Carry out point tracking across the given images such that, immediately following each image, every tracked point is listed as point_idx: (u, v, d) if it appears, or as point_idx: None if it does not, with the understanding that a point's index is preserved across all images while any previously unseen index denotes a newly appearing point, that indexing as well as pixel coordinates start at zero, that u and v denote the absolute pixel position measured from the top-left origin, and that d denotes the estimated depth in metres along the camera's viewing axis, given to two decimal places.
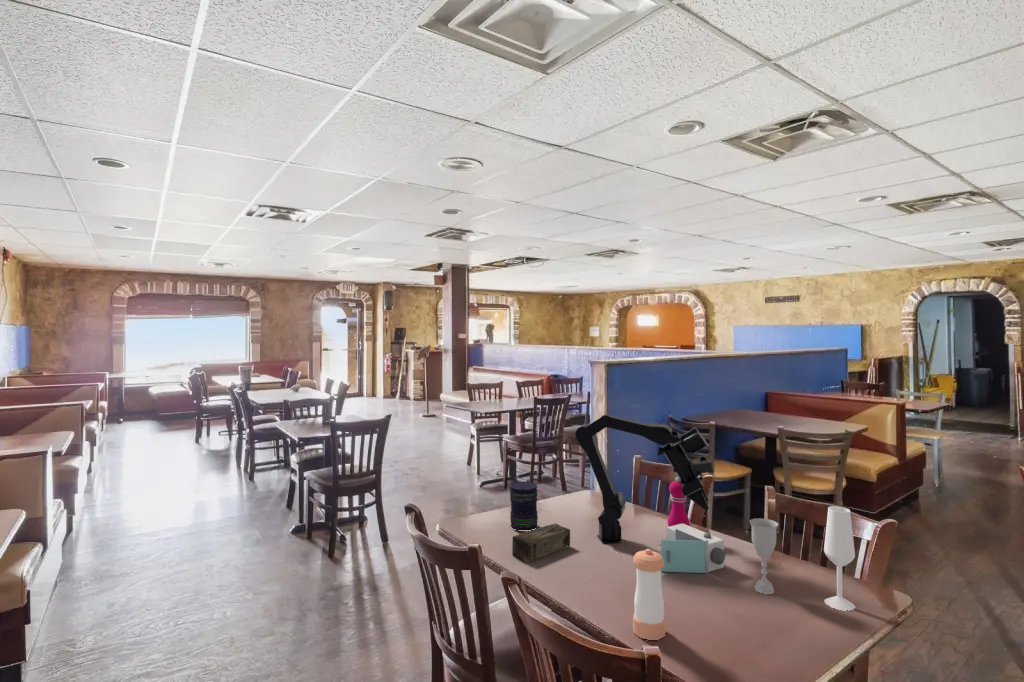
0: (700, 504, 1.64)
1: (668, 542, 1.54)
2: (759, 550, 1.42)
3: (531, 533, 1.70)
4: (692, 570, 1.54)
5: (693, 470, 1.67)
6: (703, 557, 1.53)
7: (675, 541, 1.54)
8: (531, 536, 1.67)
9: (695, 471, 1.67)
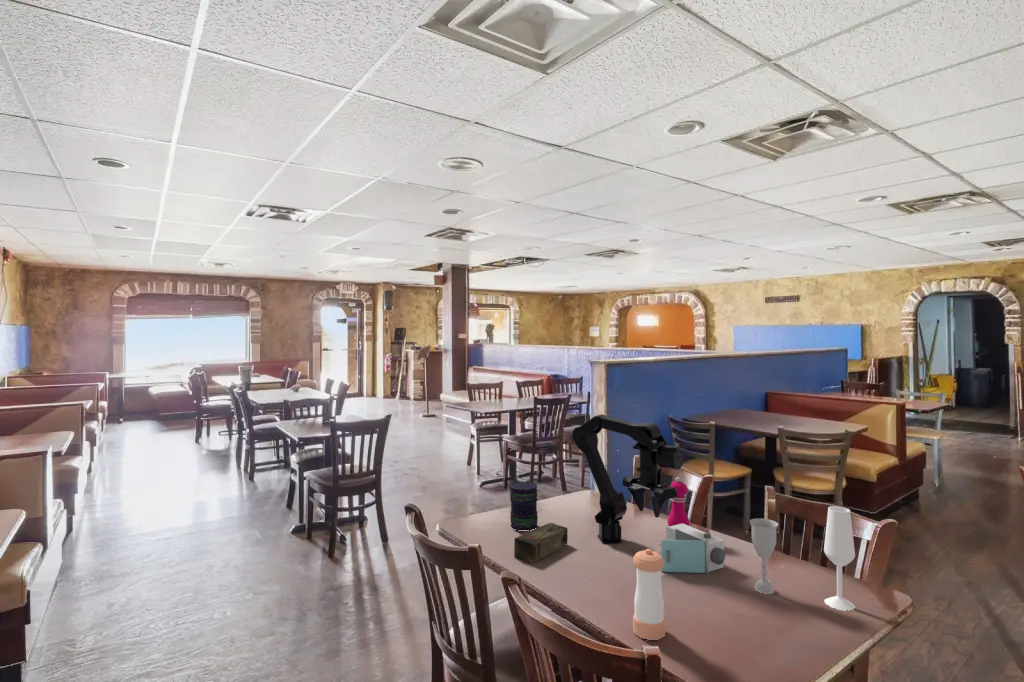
0: (656, 510, 1.65)
1: (668, 542, 1.54)
2: (759, 550, 1.42)
3: (532, 534, 1.69)
4: (692, 570, 1.54)
5: (661, 478, 1.67)
6: (703, 557, 1.53)
7: (675, 541, 1.54)
8: (533, 536, 1.67)
9: (662, 479, 1.68)
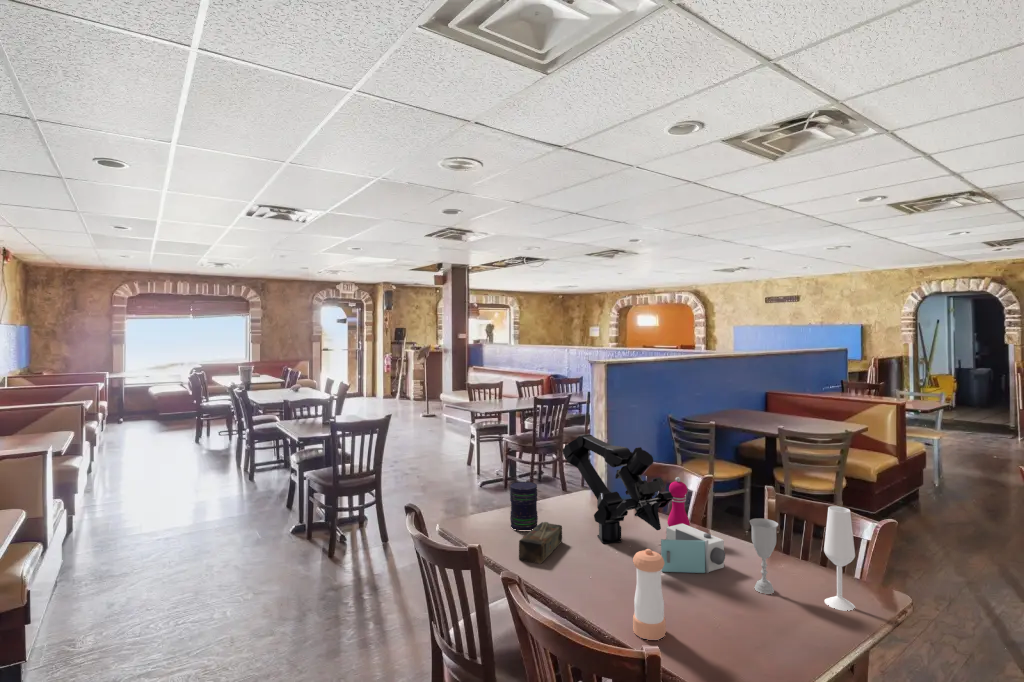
0: (651, 524, 1.60)
1: (668, 542, 1.54)
2: (759, 550, 1.42)
3: (534, 534, 1.69)
4: (692, 570, 1.54)
5: (636, 491, 1.63)
6: (703, 557, 1.53)
7: (675, 541, 1.54)
8: (537, 537, 1.66)
9: (638, 492, 1.62)
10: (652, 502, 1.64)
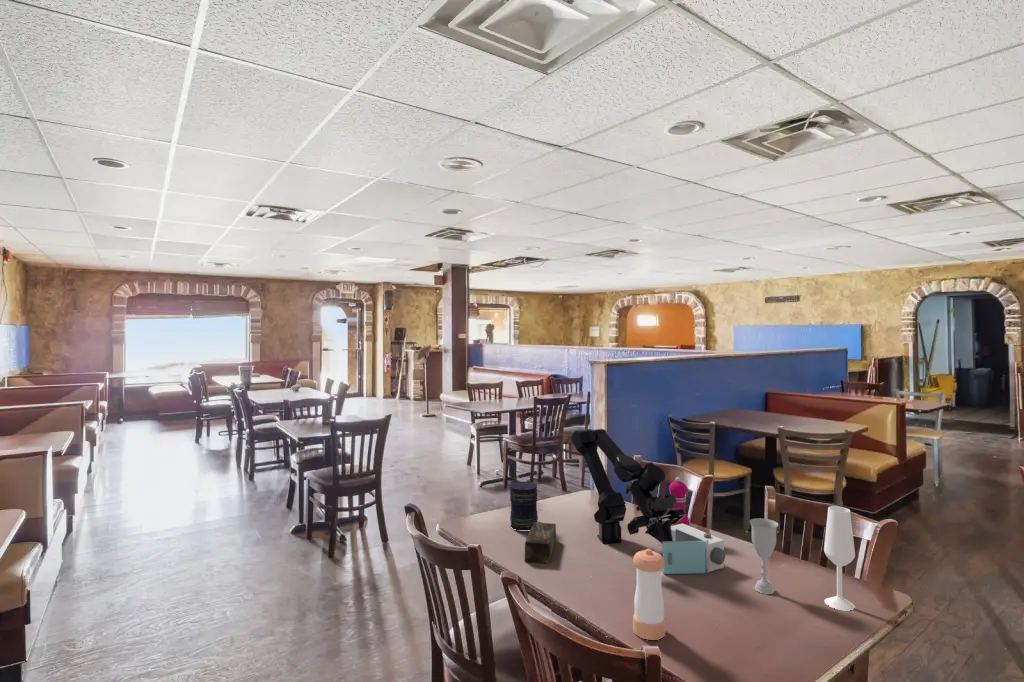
0: None
1: (669, 544, 1.53)
2: (759, 550, 1.42)
3: (535, 535, 1.68)
4: (693, 571, 1.53)
5: (648, 508, 1.59)
6: (704, 557, 1.53)
7: (676, 542, 1.53)
8: (540, 537, 1.66)
9: (649, 509, 1.58)
10: (664, 519, 1.60)
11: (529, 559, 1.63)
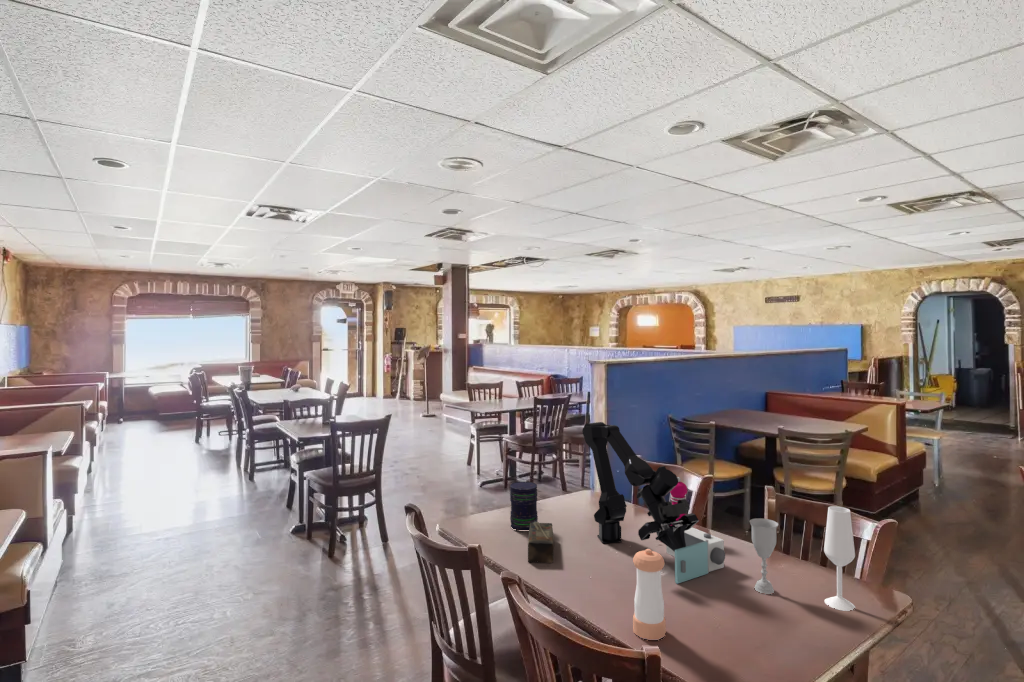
0: (673, 549, 1.51)
1: (682, 551, 1.48)
2: (759, 550, 1.42)
3: (536, 535, 1.68)
4: (699, 574, 1.51)
5: (660, 513, 1.54)
6: (706, 558, 1.53)
7: (687, 548, 1.49)
8: (542, 537, 1.66)
9: (661, 514, 1.53)
10: (676, 525, 1.55)
11: (533, 560, 1.62)
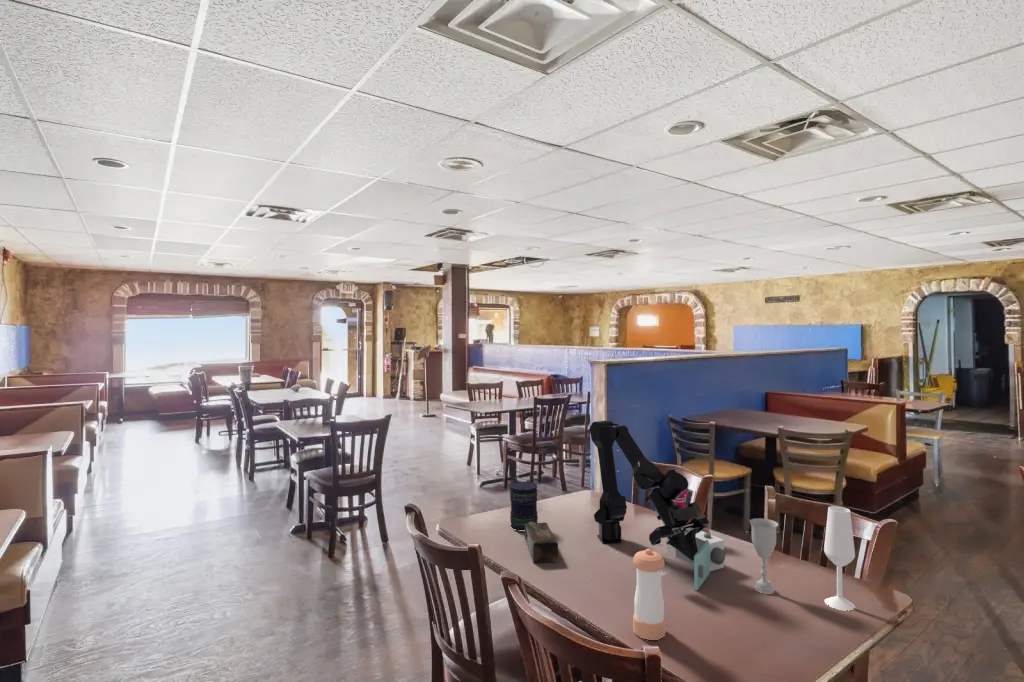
0: (684, 553, 1.48)
1: (699, 556, 1.45)
2: (759, 550, 1.42)
3: (538, 535, 1.68)
4: (706, 576, 1.50)
5: (670, 517, 1.51)
6: None
7: (701, 552, 1.46)
8: (545, 537, 1.67)
9: (672, 518, 1.50)
10: (687, 529, 1.52)
11: (538, 560, 1.62)
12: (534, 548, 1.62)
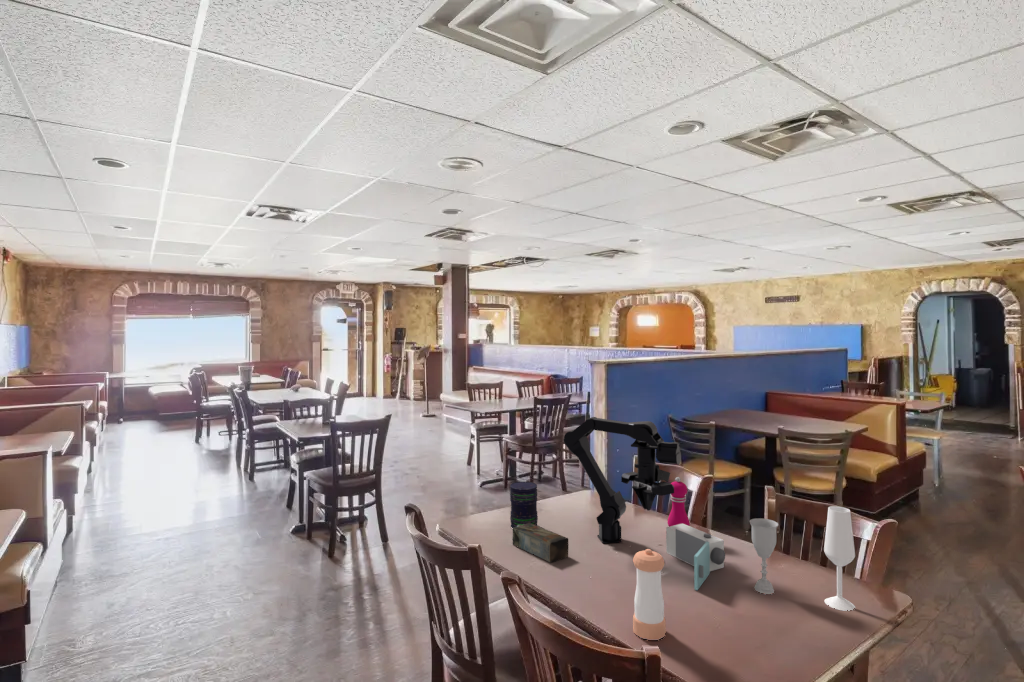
0: (648, 504, 1.71)
1: (699, 556, 1.45)
2: (759, 550, 1.42)
3: (543, 535, 1.68)
4: (706, 576, 1.50)
5: (659, 474, 1.72)
6: None
7: (701, 552, 1.46)
8: (551, 535, 1.68)
9: (659, 476, 1.72)
10: None
11: (554, 559, 1.63)
12: (551, 548, 1.62)
